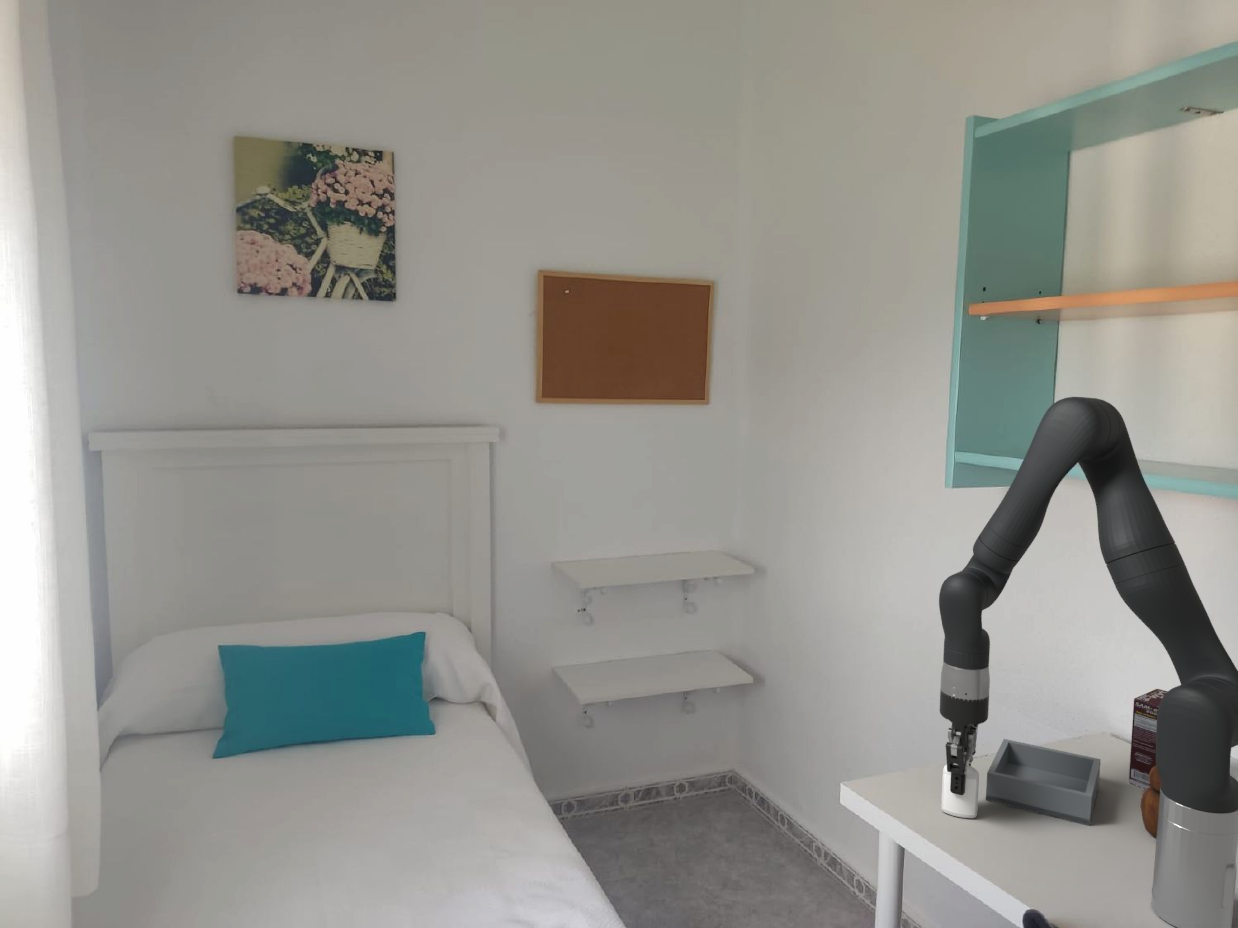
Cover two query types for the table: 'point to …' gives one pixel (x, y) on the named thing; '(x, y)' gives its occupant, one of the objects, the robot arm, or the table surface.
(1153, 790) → the wooden figurine
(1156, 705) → the supplement box
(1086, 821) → the box
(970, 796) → the eye dropper bottle
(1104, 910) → the table surface
